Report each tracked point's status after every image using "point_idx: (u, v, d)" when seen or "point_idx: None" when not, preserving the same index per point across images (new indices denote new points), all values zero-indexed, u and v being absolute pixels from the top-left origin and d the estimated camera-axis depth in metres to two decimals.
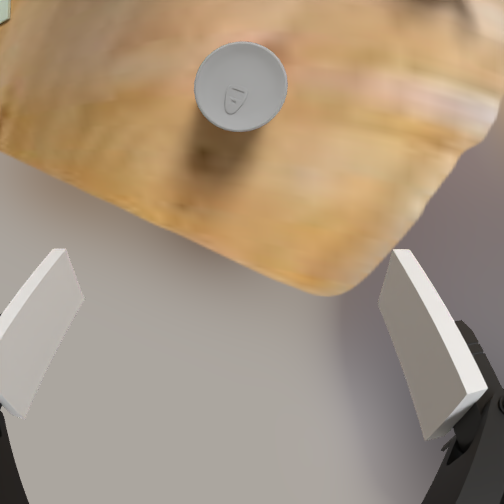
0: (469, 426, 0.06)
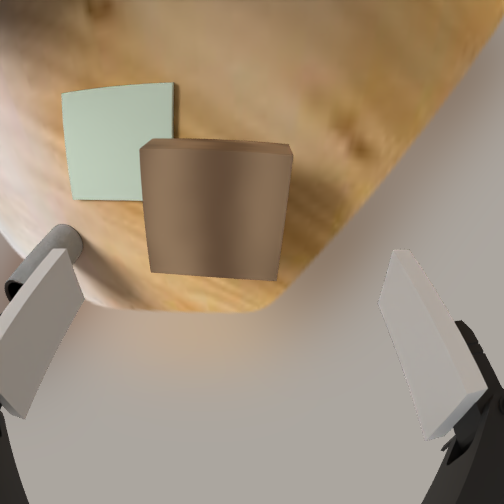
0: (469, 426, 0.06)
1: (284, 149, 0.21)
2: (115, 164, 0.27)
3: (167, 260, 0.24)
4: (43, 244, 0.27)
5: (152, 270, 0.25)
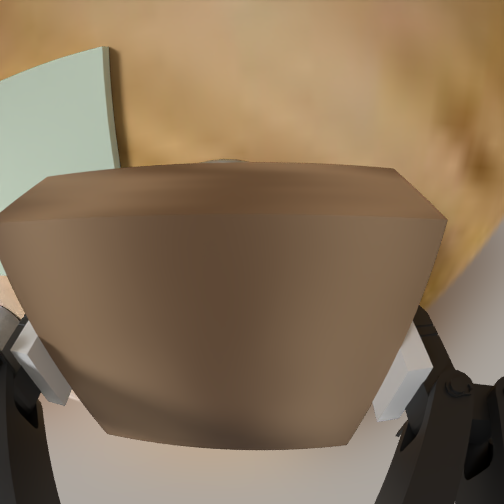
0: (418, 410, 0.07)
1: (402, 190, 0.06)
2: None
3: (130, 427, 0.10)
4: None
5: (108, 432, 0.11)
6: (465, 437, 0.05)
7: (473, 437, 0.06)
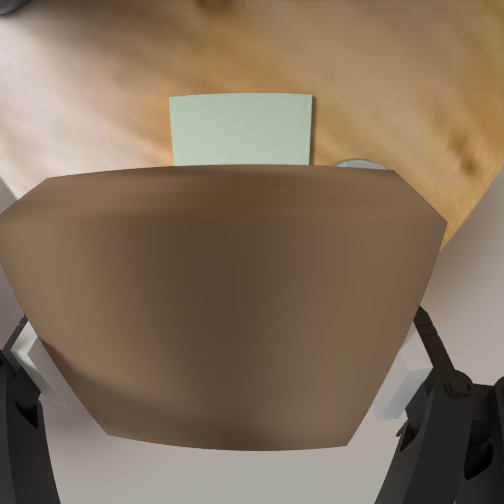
0: (418, 410, 0.07)
1: (402, 192, 0.06)
2: None
3: (130, 428, 0.10)
4: None
5: (109, 433, 0.11)
6: (465, 437, 0.05)
7: (473, 437, 0.06)
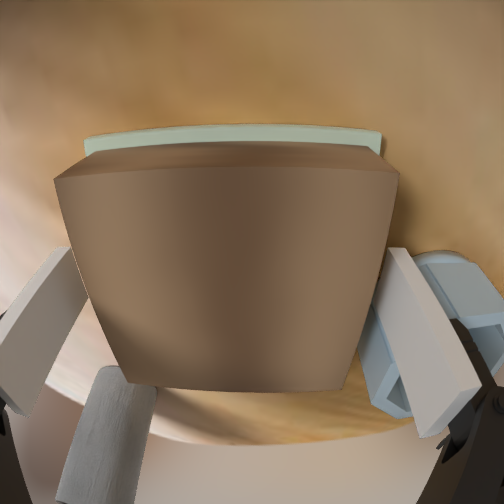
0: (464, 424, 0.06)
1: (369, 157, 0.09)
2: None
3: (151, 370, 0.13)
4: (97, 419, 0.15)
5: (129, 380, 0.13)
6: None
7: None
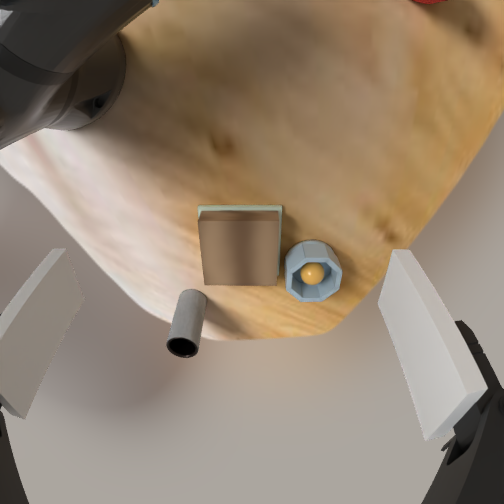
0: (469, 426, 0.06)
1: (275, 215, 0.40)
2: None
3: (214, 277, 0.44)
4: (186, 307, 0.46)
5: (205, 284, 0.44)
6: None
7: None
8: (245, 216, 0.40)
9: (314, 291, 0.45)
